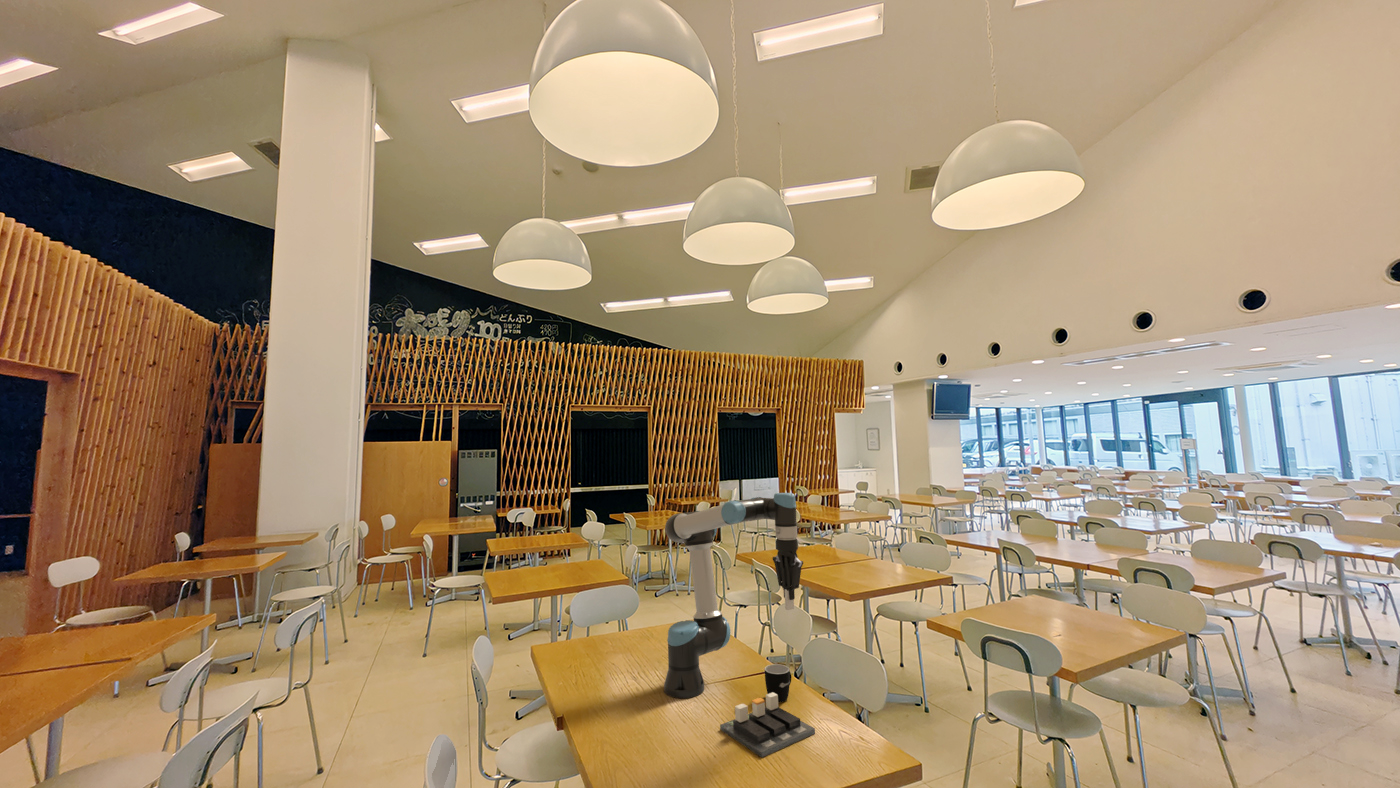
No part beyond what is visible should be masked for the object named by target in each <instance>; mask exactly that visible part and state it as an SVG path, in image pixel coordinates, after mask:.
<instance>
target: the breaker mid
mask: <svg viewBox="0 0 1400 788" xmlns="http://www.w3.org/2000/svg"><path fill="white" fill-rule="evenodd" d="M751 706H752V707H751V708H752V712H753V715H755V716H756V717H760V716H762V715H765V707H766V699H763V698H761V697H757V698H755V699H752V700H751Z"/></svg>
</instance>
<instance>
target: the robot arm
mask: <svg viewBox="0 0 1400 788" xmlns="http://www.w3.org/2000/svg"><path fill="white" fill-rule="evenodd" d="M796 502H797V500H796V495H795V494H794V493H791V492H777V493H774V495H773V498H771V497H770V498H769V497H761V496H758V497H757V496H756V497H751V498H750V499H748V498H747V499H741V500H731V501H730V500H729V501H727V502H725V503H723V504H720V505H717V506H713V507H710V508H706V509H702V510H696V511H690V512H679V513H675V514H672V515H671V516H670V517H669V518H667V521H666V522H665V526H664V528H665V529H664V531H665V534H666V536H667V538H668V539H669V540H670V541H672V542H675V543H678V544H682V543H683V544H684V547H685V548H686V549H687V550H688V551H689V557H690V558H689V560H690V567H691V575H692V583H693V593H694V600H695V601H694V602H695V609H696V610H695V611H696V612H695V614H694V615H693V620H690V619H688V620H687V619H686V620H680V621H677V622H675V623H673V624H672V625H670V627H669V629H668V631H667V658H668V659H667V661H668V663H667V664H668V670H667V672H666V677H665V680H664V685H663V690H664V694H666V695H667V696H668V697H671V698H676V699H689V698H694V697H697V696H700V695H702V694H703V692H704V691H705V681H704V677H703V674H702V671H701V669H700V657H701V656H703V655H706V654H709V653H712V652H714V651H715V652H716V651H719V650H720V649H723V648H725V647H726V646H727V644H728V643H729V642H730V638H731V627H730V623H729V622H728V620H727V618H726V617H724V616H723V612H722V611H721V610H720V609H719V608H718V601H717V593H716V585H715V577H714V568H713V560H712V553H711V547H712V545H713V543H714V539H713V538H715V536H716V535H717V532H718V529H720V528H722V527H723V528H724V527H727V526H731V525H735V524H740V523H741V524H742V523H744V522H745V523H746V522H753V521H759V520H760V521H761V520H772V521H773V520H774V529H775V530H774V531H775V538H776V539H775V549H776V550H777V553H776V555H775V556H772V561H773V563H774V566H775V572H776V578H777V582H778V586H779V587H781V588H782V589H783V598H784V608H785V610H787V611H791V610H795V601H794V600H795V595H796V594H795V590H796V589H799V588H800V581H801V574H802V567H803V565H804V561H803V560H800V559H799V558H798V557H799V556H798V553H797V551H798V549H799V543H798V542H799V541H798V526H797V525H798V524H797V503H796Z"/></svg>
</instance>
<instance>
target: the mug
mask: <svg viewBox="0 0 1400 788" xmlns="http://www.w3.org/2000/svg"><path fill="white" fill-rule="evenodd" d="M764 680H765V689H766V695H767V694H770V693H772V692H773V693H775V694H777V695H778V703H784V702H787V700H788V698H789V694H790V693H789V692H790V686H791V683H792V673H791V671H790V667H789V666H787V665H784V664H778V663H774V664H773V663H772V664H768V665H766V666H765V667H764Z"/></svg>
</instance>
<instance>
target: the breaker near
mask: <svg viewBox="0 0 1400 788" xmlns="http://www.w3.org/2000/svg"><path fill="white" fill-rule="evenodd" d="M748 709H749V708H748V704H747V705H746V704H745V703H740V704H737V705H735V706H734V715H735V718H734V719H735V720H737V721H738V722H743V721H746V720H748V714H749V710H748Z"/></svg>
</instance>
